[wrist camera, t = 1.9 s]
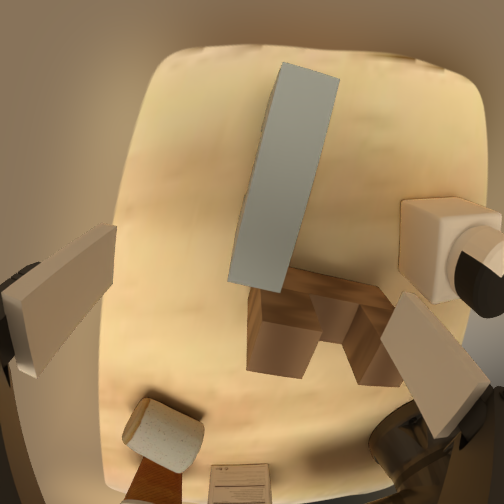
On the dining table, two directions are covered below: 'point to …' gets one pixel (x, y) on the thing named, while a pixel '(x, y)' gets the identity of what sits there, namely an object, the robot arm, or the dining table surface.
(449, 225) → the medicine bottle
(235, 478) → the supplement box
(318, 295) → the walnut stand
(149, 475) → the disposable coffee cup
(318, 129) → the slate plate
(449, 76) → the dining table surface
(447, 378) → the robot arm
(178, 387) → the dining table surface
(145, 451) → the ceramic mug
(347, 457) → the dining table surface
